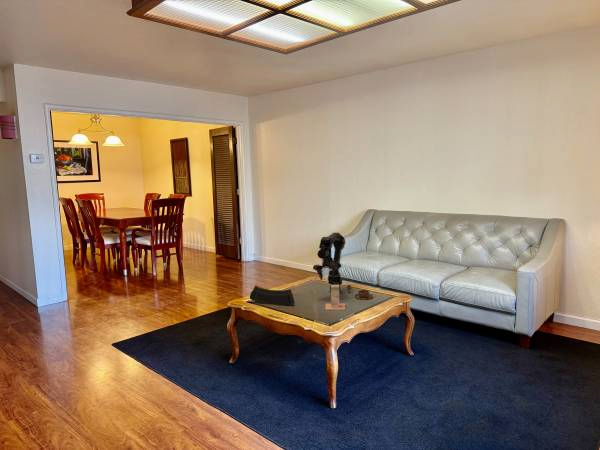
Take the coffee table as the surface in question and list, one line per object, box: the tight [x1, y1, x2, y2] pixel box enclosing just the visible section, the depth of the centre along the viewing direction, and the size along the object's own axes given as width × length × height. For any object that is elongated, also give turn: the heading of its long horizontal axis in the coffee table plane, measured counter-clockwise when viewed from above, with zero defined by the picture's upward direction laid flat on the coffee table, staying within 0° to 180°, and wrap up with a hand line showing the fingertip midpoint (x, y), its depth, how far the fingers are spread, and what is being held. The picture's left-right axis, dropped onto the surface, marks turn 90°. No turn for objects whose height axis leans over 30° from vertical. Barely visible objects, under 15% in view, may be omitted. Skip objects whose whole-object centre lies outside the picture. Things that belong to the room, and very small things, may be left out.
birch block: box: [330, 285, 340, 308], centre depth 254 cm, size 5×5×13 cm
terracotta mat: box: [325, 302, 346, 311], centre depth 255 cm, size 12×12×1 cm
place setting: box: [346, 284, 374, 301], centre depth 278 cm, size 18×20×6 cm
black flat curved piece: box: [249, 285, 296, 306], centre depth 264 cm, size 17×3×30 cm
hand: (327, 279), depth 273 cm, fingers open, 9 cm apart
